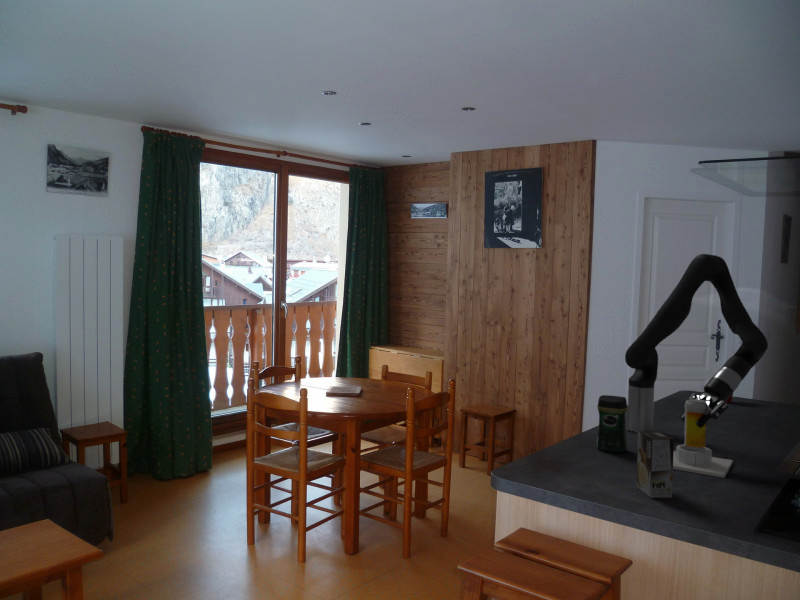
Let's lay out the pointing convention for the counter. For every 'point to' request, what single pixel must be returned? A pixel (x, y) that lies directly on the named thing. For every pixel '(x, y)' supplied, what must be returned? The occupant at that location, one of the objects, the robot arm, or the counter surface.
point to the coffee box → (655, 464)
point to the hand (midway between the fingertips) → (690, 423)
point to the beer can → (694, 424)
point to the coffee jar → (612, 423)
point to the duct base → (706, 470)
